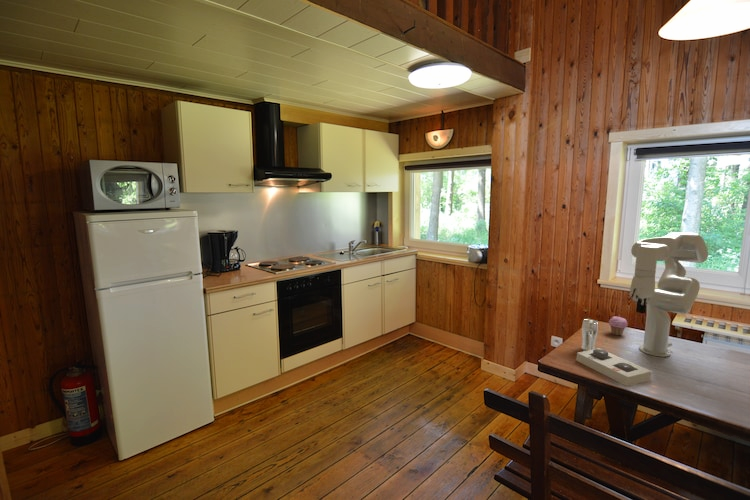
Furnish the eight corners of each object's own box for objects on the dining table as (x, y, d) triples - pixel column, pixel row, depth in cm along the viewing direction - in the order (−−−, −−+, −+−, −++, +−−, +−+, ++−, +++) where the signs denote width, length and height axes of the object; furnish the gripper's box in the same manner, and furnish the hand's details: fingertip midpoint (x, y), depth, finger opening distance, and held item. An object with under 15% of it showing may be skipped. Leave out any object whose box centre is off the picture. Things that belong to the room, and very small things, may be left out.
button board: (598, 355, 183) (599, 347, 183) (650, 379, 160) (651, 370, 159) (576, 360, 179) (577, 352, 178) (627, 386, 155) (628, 376, 155)
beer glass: (598, 352, 187) (600, 323, 184) (582, 351, 188) (585, 323, 186) (593, 346, 194) (595, 319, 191) (578, 345, 195) (580, 318, 192)
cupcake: (608, 330, 216) (610, 313, 214) (626, 333, 211) (628, 316, 209) (607, 335, 209) (608, 317, 207) (626, 338, 204) (627, 320, 202)
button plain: (599, 354, 178) (599, 348, 178) (610, 359, 173) (611, 353, 172) (589, 356, 176) (590, 350, 176) (601, 361, 171) (601, 355, 170)
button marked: (622, 368, 167) (623, 361, 167) (636, 374, 162) (636, 367, 161) (613, 370, 165) (613, 364, 165) (626, 376, 160) (626, 370, 159)
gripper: (648, 270, 173) (643, 308, 176) (624, 272, 168) (620, 312, 171) (665, 273, 166) (660, 313, 169) (641, 276, 161) (637, 317, 164)
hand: (640, 312), depth 170 cm, fingers closed
